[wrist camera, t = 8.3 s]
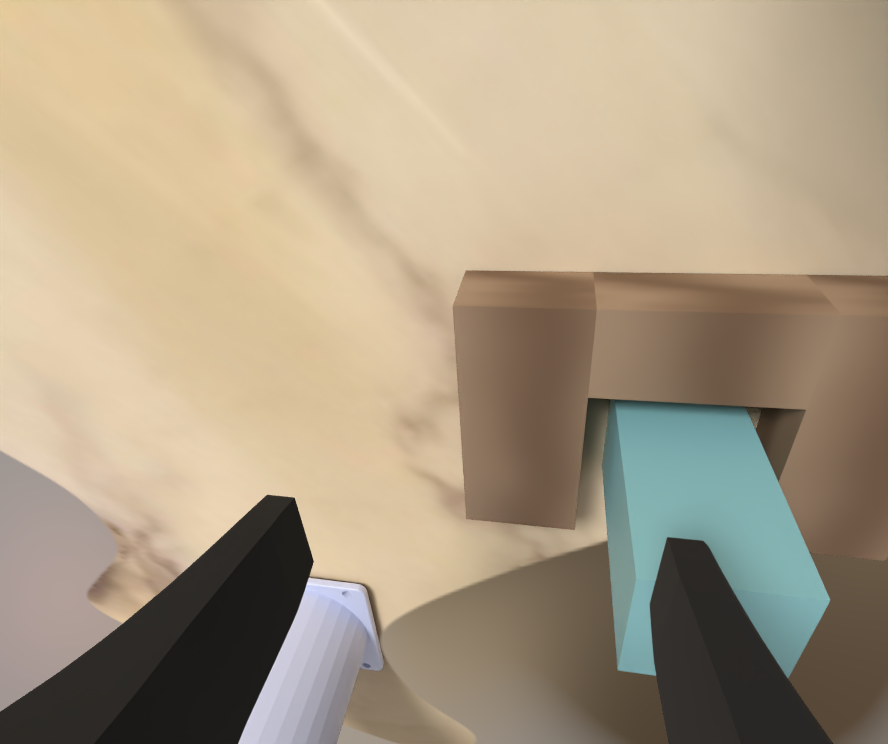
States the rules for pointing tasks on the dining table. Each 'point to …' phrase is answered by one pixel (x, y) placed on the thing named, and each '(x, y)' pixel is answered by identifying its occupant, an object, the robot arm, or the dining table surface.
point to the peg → (702, 522)
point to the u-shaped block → (677, 384)
